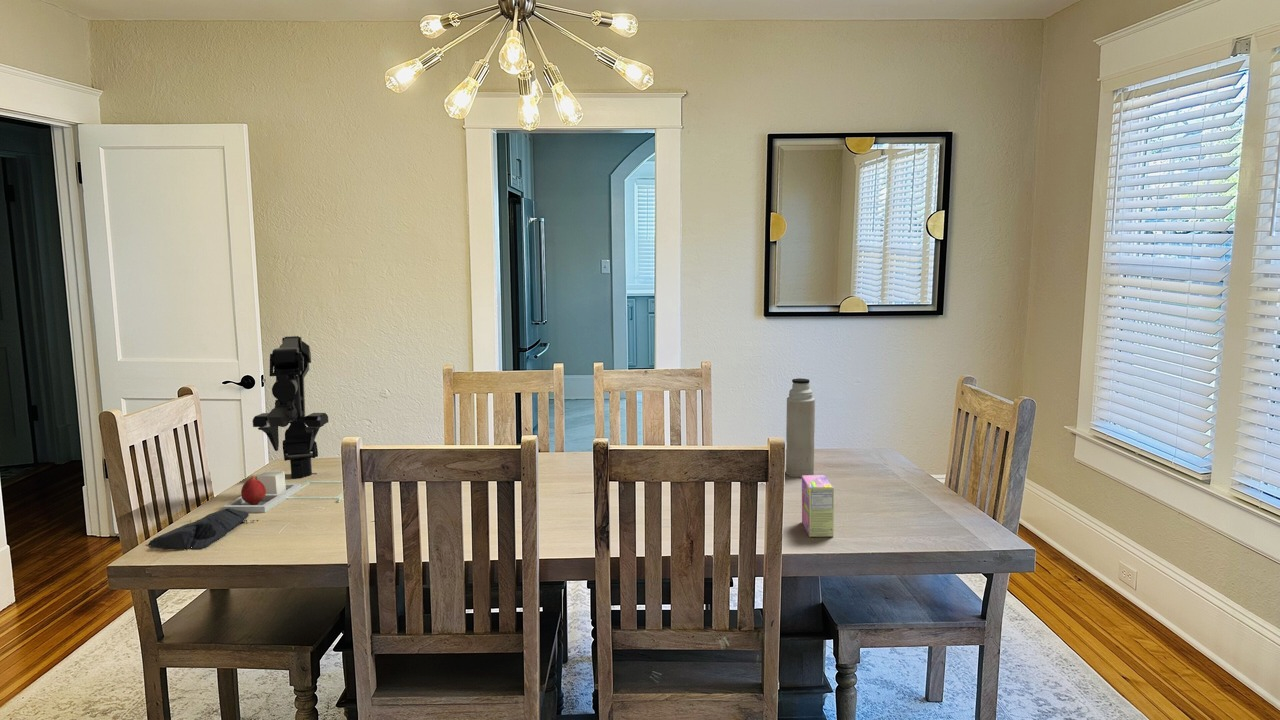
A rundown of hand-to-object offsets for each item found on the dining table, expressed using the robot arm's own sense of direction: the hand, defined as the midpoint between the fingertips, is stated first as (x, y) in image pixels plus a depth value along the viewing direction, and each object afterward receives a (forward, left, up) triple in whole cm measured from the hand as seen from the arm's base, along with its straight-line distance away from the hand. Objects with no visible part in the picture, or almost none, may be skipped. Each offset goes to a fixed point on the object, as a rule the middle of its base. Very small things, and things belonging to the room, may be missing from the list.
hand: (293, 450), depth 221 cm
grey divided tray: (+8, -5, -12) cm, 16 cm away
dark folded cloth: (+30, -9, -13) cm, 34 cm away
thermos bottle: (-20, +141, -13) cm, 143 cm away
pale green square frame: (-1, +7, -12) cm, 14 cm away
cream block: (+3, -5, -12) cm, 13 cm away
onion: (+13, -5, -12) cm, 18 cm away
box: (+27, +138, -13) cm, 141 cm away
